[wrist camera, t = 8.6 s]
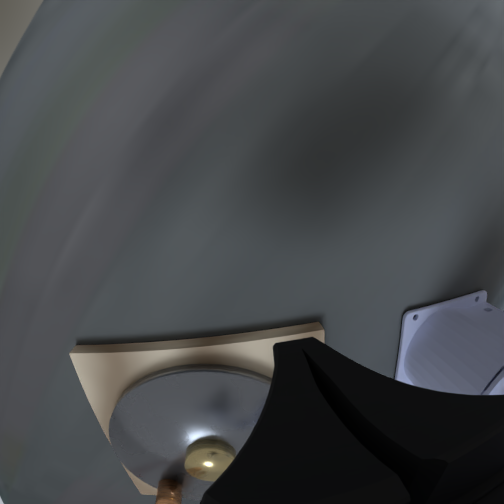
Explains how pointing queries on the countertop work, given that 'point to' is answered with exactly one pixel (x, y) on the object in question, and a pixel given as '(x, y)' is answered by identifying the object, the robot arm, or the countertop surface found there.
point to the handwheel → (186, 425)
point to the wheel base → (173, 364)
